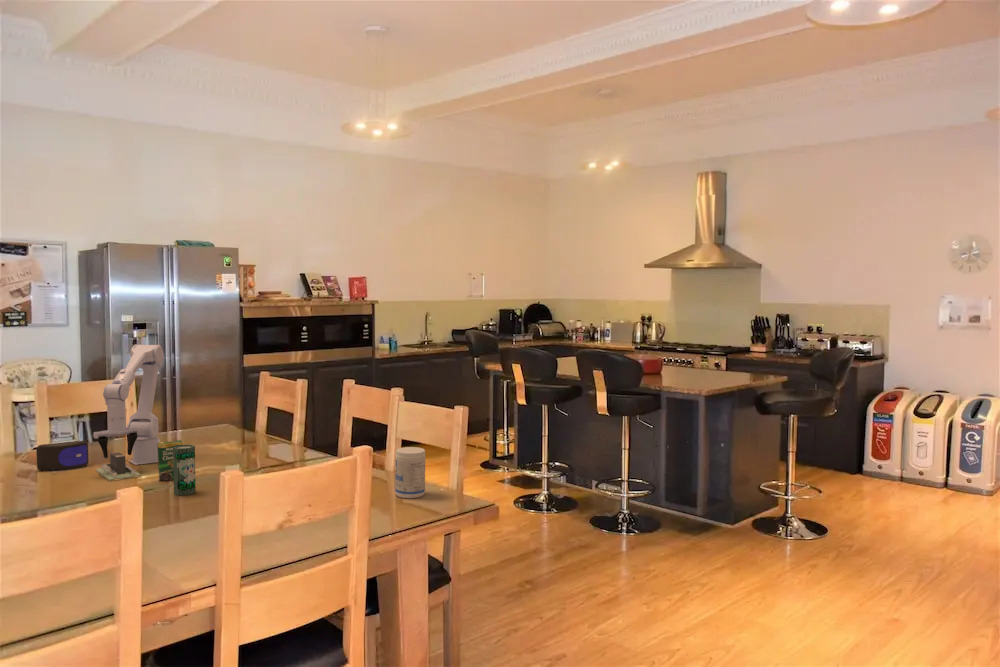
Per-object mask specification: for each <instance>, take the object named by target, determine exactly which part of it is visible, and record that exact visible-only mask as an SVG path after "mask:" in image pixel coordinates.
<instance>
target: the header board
mask: <svg viewBox="0 0 1000 667" xmlns="http://www.w3.org/2000/svg"><path fill="white" fill-rule="evenodd" d="M96 471H97V472H96ZM95 472H96V473H98V474H99V473H100V474H101V475H100V474H99V475H100V476H101V477H103V476H104V477H105V478H107V479H108V480H115V479H122V480H124V479H123V478H129V479H131V478H130V477H135V476H141V477H142V475H141V473H139V472H138V471H136V469H134V468H133V467H131V466H130V465H129V464H127V463H126V473H125V474H118V475H117V472H115V471H114V470H113V469H111V468H110V462H108V463H101V464H100V468H96V469H95ZM104 477H103V478H104ZM105 478H104V479H105ZM107 479H106V480H107ZM108 480H107V481H108Z"/></svg>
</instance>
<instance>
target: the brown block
mask: <svg viewBox="0 0 1000 667" xmlns="http://www.w3.org/2000/svg"><path fill="white" fill-rule="evenodd" d="M109 463H110V468H111V469H113V470H114V471H115V472H117V475H118V474H125V473H126V464H127V463H126V456H125V455H124V454H123V453H121V452H119V451H118V452H111V453H109Z"/></svg>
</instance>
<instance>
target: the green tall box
mask: <svg viewBox="0 0 1000 667" xmlns="http://www.w3.org/2000/svg"><path fill="white" fill-rule="evenodd" d="M173 466H174V480H173V495H174V496H182V497H183V496H190V495H193V494H196V492H197V490H196V487H197V486H196V446H195V445H193V444H182V445H179V446H175V447H173Z"/></svg>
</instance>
